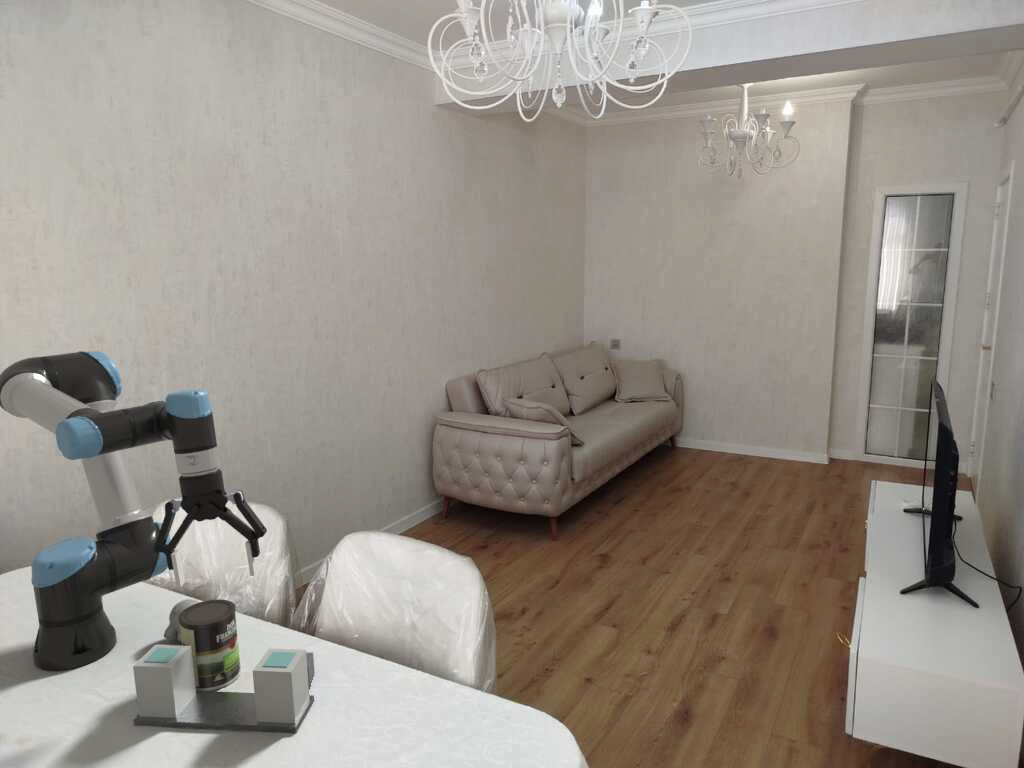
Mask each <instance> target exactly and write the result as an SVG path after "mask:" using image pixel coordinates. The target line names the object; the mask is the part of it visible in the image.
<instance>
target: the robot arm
mask: <svg viewBox="0 0 1024 768" xmlns="http://www.w3.org/2000/svg"><path fill="white" fill-rule="evenodd" d="M121 383H122V377H121V374H120V372H119V369H118V368H117V365H116V363H115V362H114V361H113V359H112V358H111V357H110V356H109V355H108V354H106V353H104V352H102V351H100V350H99V351H96V350H94V351H93V350H91V351H83V350H82V351H77V352H70V353H61V354H54V355H44V356H34V357H27V358H24V359H21V360H18V361H16V362H13V363H12V364H10V365H9V366H8V367H6V368H5V369H4V370H3V371H1V373H0V407H1V409H2V410H4V412H7V413H8V414H10V415H11V416H13V417H17V418H21V419H28V420H29V421H32V422H33V423H35V424H37V425H38V426H40V427H42V428H43V429H45V430H46V431H49V432H50V433H52V434H53V435H55V439H56V445H57V448H58V449H59V451H60V452H61V454H62V456H63V457H64V458H65V459H66V460H70V461H76V460H80V461H81V463H82V467H83V471H84V473H85V476H86V480H87V484H88V485H89V486H88V487H89V490H90V494H91V496H92V500H93V503H94V506H95V509H96V513H97V516H98V520H99V522H100V524H99V526H98V527H97V530H96V531H95V537H96V541H94V539H92V538H90V537H85V536H84V537H81V536H80V537H76V538H69V539H64V540H61V541H59V542H56V543H54V544H52V545H50V546H48V547H46V548H45V549H42V550H41V551H40V552H39V553H38V554H37V555H36V556H35V557H34V558H33V560H32V561H31V565H30V566H31V581H30V582H31V584H32V587H33V592H34V599H35V606H36V607H35V608H36V613H37V619H38V630H37V632H36V633H37V634H36V637H35V642H34V646H33V650H32V654H33V655H32V656H33V661H34V665H35V666H36V667H37V668H38V669H39V670H40V669H41V670H44V671H50V672H51V671H54V672H55V671H57V672H58V671H64V670H71V669H75V668H79V667H82V666H85V665H89V664H91V663H93V662H95V661H98V660H99V659H101V658H103V657H104V656H106V655H107V654H109V653H110V652H111V651H112V650H113V649H114V648H115V646H116V644H117V642H118V641H117V631H116V628H115V627H114V626H113V625H112V623H111V621H110V619H109V617H108V615H107V613H106V612H105V610H104V606H103V605H104V604H103V596H106V595H109V594H111V593H115V592H116V591H120V590H122V589H125V588H128V587H130V586H133V585H136V584H139V583H142V582H146V581H148V580H150V579H152V578H154V577H156V576H159V575H162V574H163V573H164V572H166V570H167V569H168V570H169V571H173V575H174V581H175V586H176V588H181V587H182V586H183V585H184V584H186V577H185V572H184V565H183V560H182V555H181V549H176V548H177V546H178V545H179V543H180V541H181V540H182V538H183V537H184V535H185V534H186V532H187V531H188V529H189V528H190V527H191V524H192V523H193V522H194V521H196V522H203V521H205V520H206V521H214V520H215V519H217V518H219V519H220V521H224V522H225V523H227V525H229V526H231V527H232V528H233V529H234V530H236V532H238V534H240V535H241V536H243V537H244V538H245V539H246V540H247V541H246V542H245V543H244V545H245V551H246V557H247V558H246V559H247V565H248V570H249V574H250V575H249V576H250V577H255V576H256V574H257V572H258V565H257V558H258V557H259V556H260V553H261V549H260V544H259V543H260V542H259V539H260V538H264V536H265V535H266V534H267V532H268V531H267V530H268V529H267V528H266V526H265V525H264V524H263V522H262V520H261V519H260V518H259V516H258V515H257V514H256V513H255V511H254V510H253V509H252V507H251V506H250V505H249V504H248V502H247V501H246V498H245V495H244V492H243V490H241V489H238V490H237V491H235V492H233V493H232V492H231V493H229V494H228V493H227V492H226V490H225V485H224V483H225V482H224V479H223V478H224V477H223V472H222V470H221V469H220V468H219V467H220V466H221V459H220V454H219V448H218V442H217V436H216V434H217V433H216V428H215V422H214V414H213V406H212V404H211V401H210V397H209V393H208V391H207V390H205V389H202V388H200V389H199V388H197V389H188V390H182V391H176V392H175V391H174V392H170V393H168V394H167V395H166V397H165V401H163V400H158V401H152V402H148V403H146V404H144V405H137V406H133V407H128V408H121V409H120V408H119V409H116V410H114V409H115V407H116V405H117V404H118V401H117V399H116V398H118V397H119V396H120V395H121V393H122V391H123V390H122V389H123V386H122V384H121ZM165 441H172V446H173V452H174V453H173V454H174V458H175V459H174V460H175V463H176V470H177V473H178V474H180V476H179V478H178V481H179V488H180V494H181V500H175V499H173V498H172V499H170V500H169V501H167V502H166V503H165V504H164V517H163V521H162V522H160V521H159V522H158V521H154V518H153V515H152V514H150V513H148V512H146V511H144V510H143V508H142V505H141V501H140V498H139V495H138V492H137V488H136V485H135V481H134V479H133V476H132V472H131V468H130V466H129V462H128V459H127V455H126V452H125V450H127V449H132V448H136V447H142V446H148V445H151V444H154V443H155V444H156V443H160V442H165ZM229 501H230V502H231V503H232V505H235V506H236V508H237V509H238V511H239V513H240V514H241V515H242V516H243V517H244V519H245V521H246V522H247V523H248V524H247V523H246V522H244V521H243V520H241V518H239V517H238V516H237V515H235V514H234V513H233V512H232V510H231V509H230V508H229V507H228V506H227V504H228V502H229ZM180 508H181V509H182V510H183V511H184V512H185V513H186V516H185V517H184V519H183V520H182V522H181V524H180V526H179V527H178V529H177V530H176V532H175V534H174V535H173V536H172V538H171V536H170V532H171V529H172V526H173V523H174V521H175V517H176V514H177V513H178V512H179V511H180ZM249 525H250V526H249Z"/></svg>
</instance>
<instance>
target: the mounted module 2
mask: <svg viewBox="0 0 1024 768" xmlns="http://www.w3.org/2000/svg"><path fill="white" fill-rule="evenodd" d="M306 653H307V650H306V649H291V648H290V649H288V648H286V649H285V648H268V649H267V651H266V652H265V654H264V655H263V656H262V657H261V659H260V660H259V662H258V663H257V664H256V665H255V667H254V668H253V669H252V679H253V693H255V704H256V715H257V722H278V723H296V721H297V719H298V718H299V716H300V714H301V712H302V711H303V709H304V707H305V706H306V704H307V702H308V700H309V695H310V690H309V685H308V672H307V658H306Z"/></svg>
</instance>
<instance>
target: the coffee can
mask: <svg viewBox="0 0 1024 768" xmlns="http://www.w3.org/2000/svg"><path fill="white" fill-rule="evenodd" d="M198 602H199V601H198ZM179 622H180V628H181V637H182V641H181V645H183V646H191V648H192V657H193V667H194V676H195V686H196V691H216V690H217V691H218V690H220V689H223V688H225V687H228V686H229V685H231V684H232V683H234V682H235V681H236V680H237V679H238V678H239V677H240V675H241V672H242V668H241V662H240V661H241V660H240V650H239V640H238V629H237V616H236V604H235V603H234V602H232V601H230V600H227V599H218V598H217V599H209V600H203V601H201V602H199V603H196V604H194V605H192V606H190V607H188V608H186V609H185V610H183V611H182V612H181V613H180V615H179Z"/></svg>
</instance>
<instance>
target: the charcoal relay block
mask: <svg viewBox="0 0 1024 768" xmlns="http://www.w3.org/2000/svg"><path fill="white" fill-rule="evenodd" d="M306 658H307V672H308V685H309V689H310V687H311V688H312V685H311V683H312V684H313V682H312V680H313V681H314V679H313V677H314V678H315V675H316V674H315V673H316V672H315V661H314V660H315V659H314V652H313V651H312V652H306ZM314 674H315V675H314ZM310 690H311V689H310Z"/></svg>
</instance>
